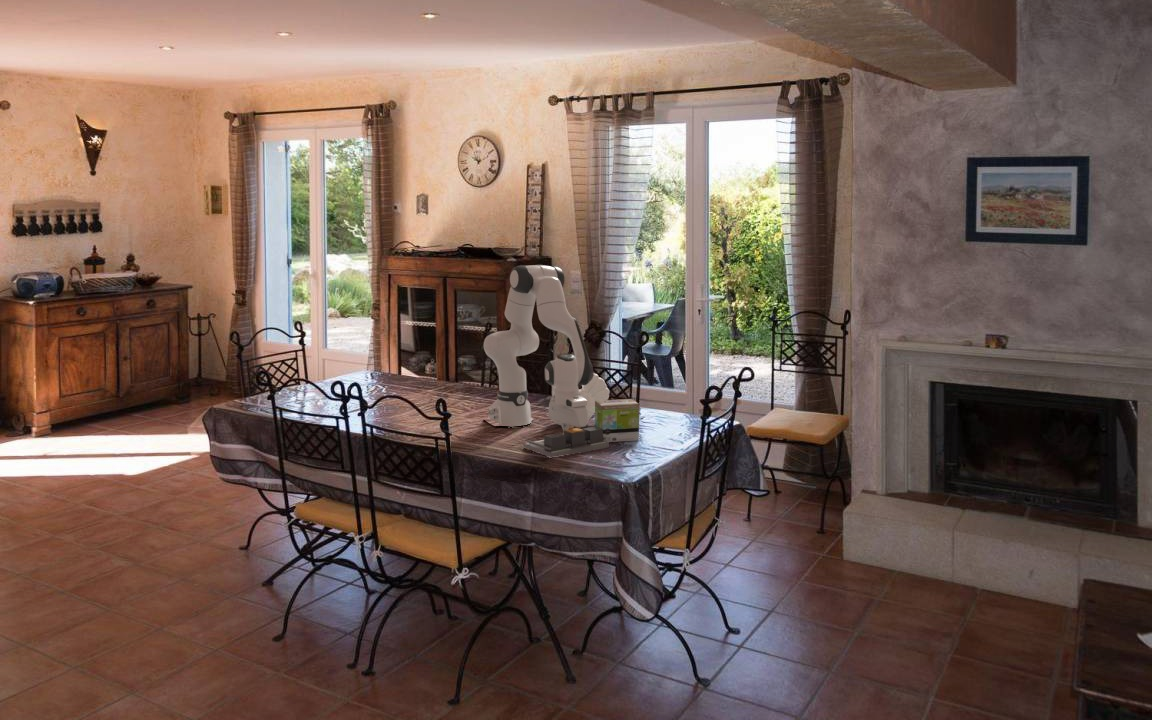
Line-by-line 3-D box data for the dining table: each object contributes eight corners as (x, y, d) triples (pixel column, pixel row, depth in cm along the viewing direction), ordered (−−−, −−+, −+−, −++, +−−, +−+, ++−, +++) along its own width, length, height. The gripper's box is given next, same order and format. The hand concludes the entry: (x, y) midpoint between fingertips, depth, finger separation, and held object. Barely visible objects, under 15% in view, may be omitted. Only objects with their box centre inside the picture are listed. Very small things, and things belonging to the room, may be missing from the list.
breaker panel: (523, 448, 370) (523, 430, 369) (580, 438, 385) (580, 420, 384) (551, 458, 356) (550, 439, 354) (608, 447, 370) (608, 428, 369)
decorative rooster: (550, 430, 398) (549, 369, 394) (548, 422, 414) (547, 362, 410) (613, 428, 400) (612, 367, 396) (608, 420, 416) (607, 361, 412)
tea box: (601, 444, 376) (601, 405, 373) (594, 438, 385) (593, 400, 383) (639, 440, 380) (639, 402, 377) (631, 435, 389) (631, 397, 387)
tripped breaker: (557, 444, 367) (557, 429, 366) (576, 440, 372) (576, 426, 371) (572, 449, 359) (571, 433, 359) (591, 445, 364) (591, 430, 364)
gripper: (543, 395, 373) (544, 431, 375) (575, 403, 357) (576, 441, 359) (557, 393, 377) (558, 429, 379) (590, 401, 360) (590, 438, 362)
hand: (567, 435), depth 369 cm, fingers closed
